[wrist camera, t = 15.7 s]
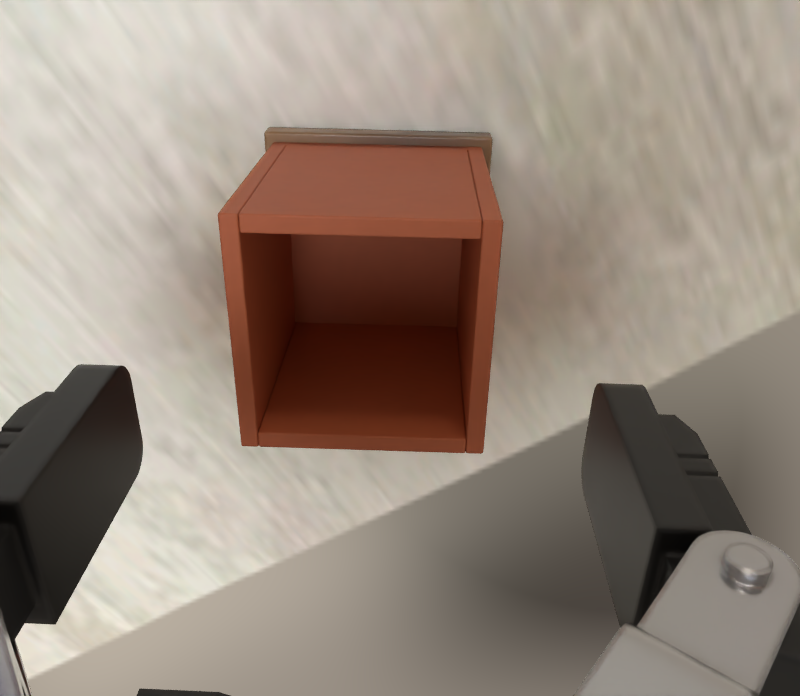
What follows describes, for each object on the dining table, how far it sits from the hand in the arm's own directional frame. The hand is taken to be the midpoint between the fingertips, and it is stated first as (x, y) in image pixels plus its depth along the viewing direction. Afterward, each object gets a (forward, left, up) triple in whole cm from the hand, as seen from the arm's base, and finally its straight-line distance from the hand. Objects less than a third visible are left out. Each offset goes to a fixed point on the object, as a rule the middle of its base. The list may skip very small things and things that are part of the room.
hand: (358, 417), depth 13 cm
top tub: (0, 0, -9) cm, 9 cm away
